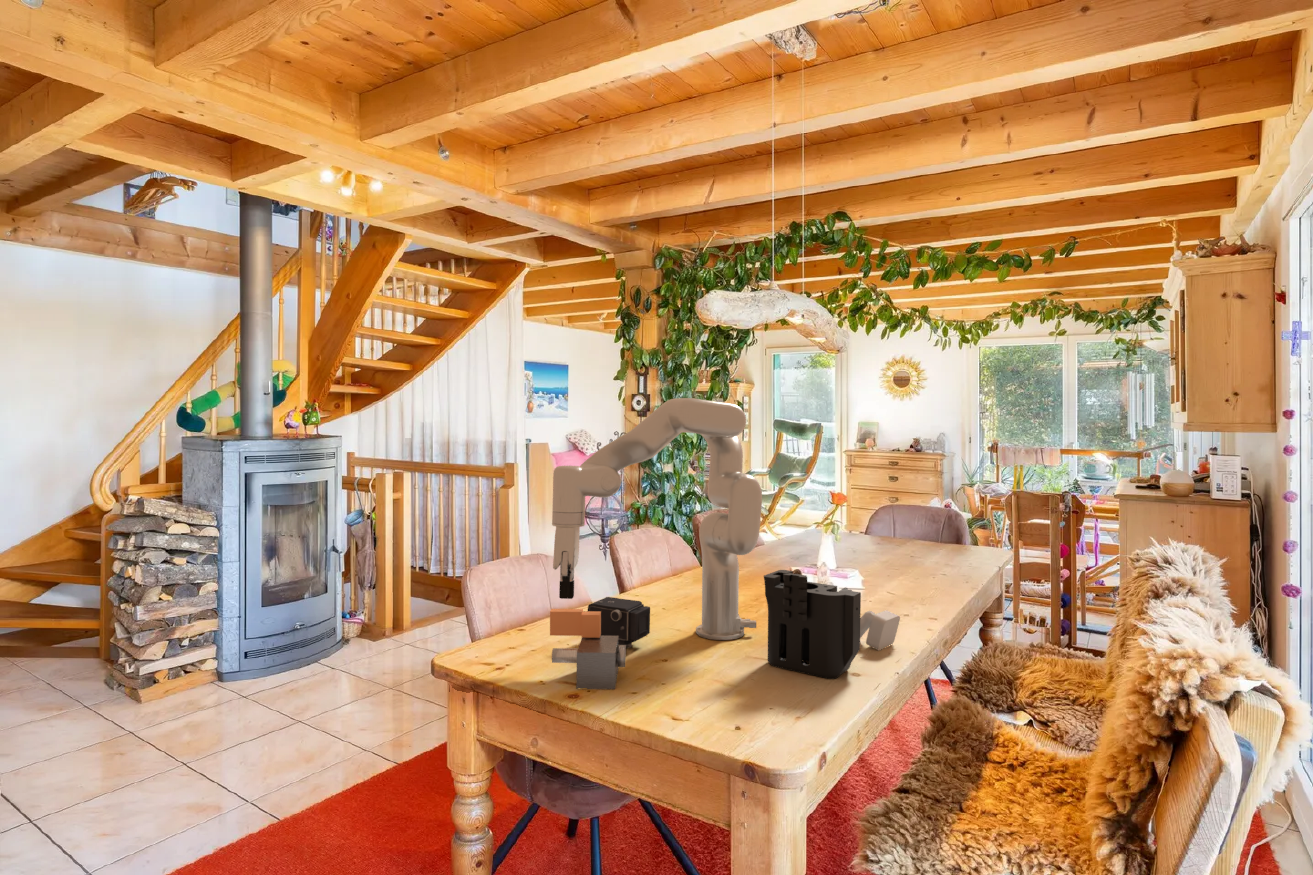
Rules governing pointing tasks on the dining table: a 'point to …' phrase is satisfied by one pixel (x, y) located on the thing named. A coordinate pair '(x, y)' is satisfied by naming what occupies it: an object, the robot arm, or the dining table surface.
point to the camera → (623, 619)
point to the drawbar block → (597, 662)
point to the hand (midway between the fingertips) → (566, 597)
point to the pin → (571, 655)
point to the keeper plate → (575, 623)
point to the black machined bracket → (811, 625)
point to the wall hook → (879, 628)
